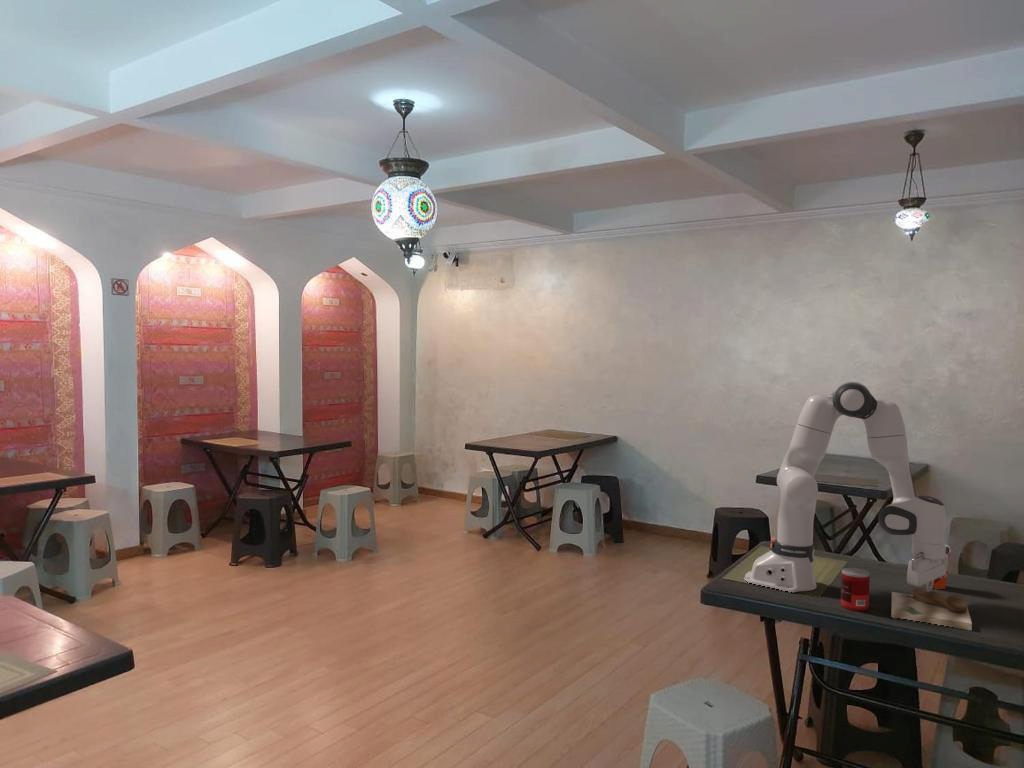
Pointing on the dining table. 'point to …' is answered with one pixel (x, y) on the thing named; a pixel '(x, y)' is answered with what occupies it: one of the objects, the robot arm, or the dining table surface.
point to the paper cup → (941, 579)
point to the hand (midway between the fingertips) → (926, 594)
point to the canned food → (855, 589)
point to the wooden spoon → (941, 599)
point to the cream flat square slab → (927, 612)
